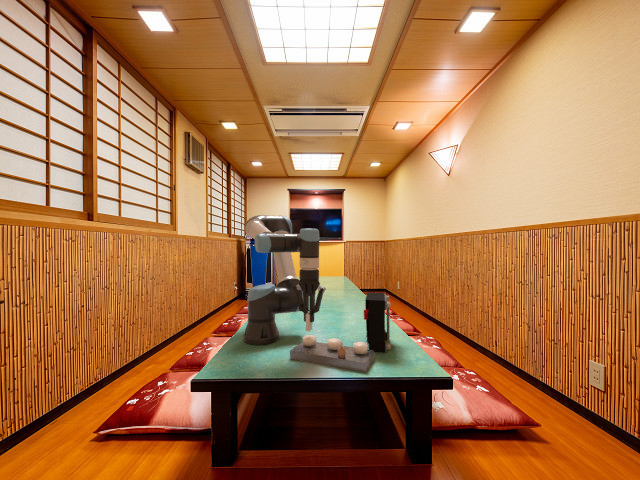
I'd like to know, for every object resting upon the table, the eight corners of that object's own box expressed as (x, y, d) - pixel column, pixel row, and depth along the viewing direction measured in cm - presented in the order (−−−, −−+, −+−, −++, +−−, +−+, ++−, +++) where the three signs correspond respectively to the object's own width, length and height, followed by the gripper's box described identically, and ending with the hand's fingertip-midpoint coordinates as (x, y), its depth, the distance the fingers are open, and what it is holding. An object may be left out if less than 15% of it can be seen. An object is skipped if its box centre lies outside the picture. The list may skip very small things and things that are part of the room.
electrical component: (390, 353, 110) (390, 300, 110) (363, 351, 112) (363, 299, 112) (389, 338, 127) (389, 293, 127) (365, 337, 129) (365, 292, 129)
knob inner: (300, 352, 109) (300, 338, 109) (306, 348, 114) (306, 334, 114) (312, 354, 107) (312, 339, 107) (318, 350, 112) (318, 335, 112)
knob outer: (351, 361, 101) (351, 345, 101) (355, 356, 106) (355, 341, 106) (365, 363, 99) (365, 347, 99) (369, 358, 104) (369, 342, 104)
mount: (290, 358, 105) (290, 350, 105) (304, 347, 116) (304, 340, 116) (365, 372, 94) (365, 363, 94) (374, 358, 105) (374, 350, 105)
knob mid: (325, 356, 105) (325, 341, 105) (330, 352, 110) (330, 337, 110) (338, 358, 103) (338, 343, 103) (342, 354, 108) (342, 339, 108)
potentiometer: (336, 357, 98) (336, 342, 98) (339, 354, 101) (339, 340, 101) (343, 358, 97) (343, 343, 97) (346, 355, 100) (346, 341, 100)
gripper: (289, 268, 110) (289, 330, 110) (321, 270, 105) (320, 335, 105) (298, 267, 117) (298, 325, 117) (328, 268, 112) (328, 329, 112)
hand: (309, 330), depth 111 cm, fingers closed
